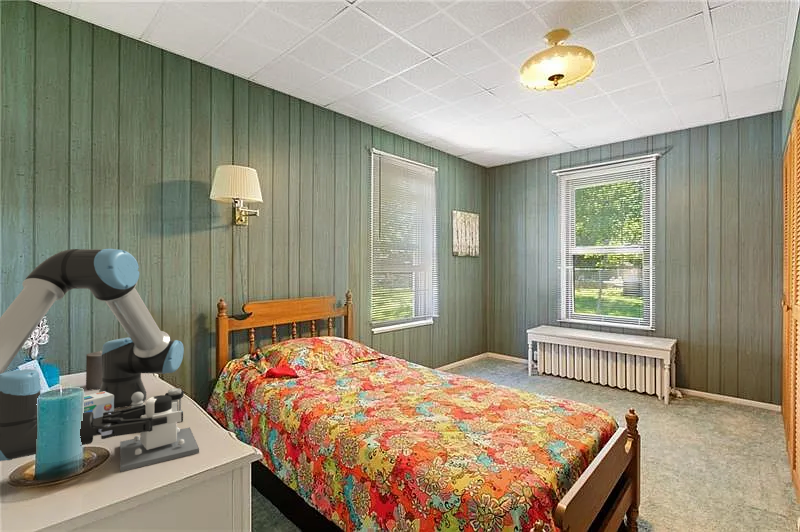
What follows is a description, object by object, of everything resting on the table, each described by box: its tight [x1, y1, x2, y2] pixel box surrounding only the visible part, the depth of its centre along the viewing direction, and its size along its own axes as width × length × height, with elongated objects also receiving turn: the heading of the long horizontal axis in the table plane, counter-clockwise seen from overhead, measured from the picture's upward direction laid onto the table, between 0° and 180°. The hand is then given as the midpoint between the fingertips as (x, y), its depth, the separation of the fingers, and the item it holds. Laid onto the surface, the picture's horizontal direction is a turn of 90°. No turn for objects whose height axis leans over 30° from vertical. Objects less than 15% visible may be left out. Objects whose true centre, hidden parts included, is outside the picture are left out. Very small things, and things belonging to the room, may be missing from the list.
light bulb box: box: [83, 391, 115, 437], centre depth 118 cm, size 11×7×11 cm, turn 148°
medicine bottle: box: [139, 394, 178, 450], centre depth 107 cm, size 7×7×12 cm
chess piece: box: [130, 392, 145, 408], centre depth 128 cm, size 5×5×9 cm
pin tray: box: [119, 426, 200, 473], centre depth 107 cm, size 17×17×3 cm
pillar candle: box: [85, 349, 102, 390], centre depth 165 cm, size 10×10×15 cm
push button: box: [164, 387, 185, 422], centre depth 126 cm, size 7×5×10 cm
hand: (179, 411), depth 110 cm, fingers closed on medicine bottle, 8 cm apart
